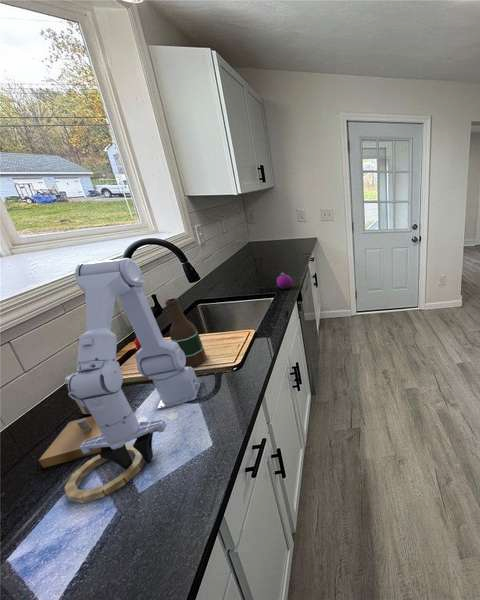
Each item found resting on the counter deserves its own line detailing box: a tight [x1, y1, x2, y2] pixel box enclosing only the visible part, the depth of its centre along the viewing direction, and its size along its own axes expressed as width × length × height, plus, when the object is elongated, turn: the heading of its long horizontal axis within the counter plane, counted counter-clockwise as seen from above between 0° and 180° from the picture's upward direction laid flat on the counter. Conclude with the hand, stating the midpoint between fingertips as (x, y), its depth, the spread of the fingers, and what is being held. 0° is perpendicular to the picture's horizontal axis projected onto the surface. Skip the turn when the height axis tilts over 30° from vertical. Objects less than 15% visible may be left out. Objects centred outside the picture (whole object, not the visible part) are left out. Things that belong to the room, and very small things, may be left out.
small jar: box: [64, 371, 91, 415], centre depth 88 cm, size 5×5×12 cm
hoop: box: [64, 443, 146, 504], centre depth 69 cm, size 13×13×2 cm
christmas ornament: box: [276, 271, 293, 290], centre depth 174 cm, size 8×8×10 cm
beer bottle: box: [165, 297, 207, 368], centre depth 106 cm, size 8×8×24 cm
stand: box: [38, 415, 102, 469], centre depth 79 cm, size 13×13×6 cm
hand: (139, 462), depth 71 cm, fingers open, 3 cm apart
